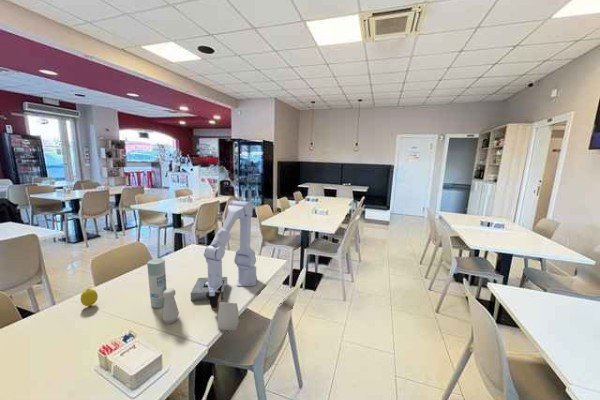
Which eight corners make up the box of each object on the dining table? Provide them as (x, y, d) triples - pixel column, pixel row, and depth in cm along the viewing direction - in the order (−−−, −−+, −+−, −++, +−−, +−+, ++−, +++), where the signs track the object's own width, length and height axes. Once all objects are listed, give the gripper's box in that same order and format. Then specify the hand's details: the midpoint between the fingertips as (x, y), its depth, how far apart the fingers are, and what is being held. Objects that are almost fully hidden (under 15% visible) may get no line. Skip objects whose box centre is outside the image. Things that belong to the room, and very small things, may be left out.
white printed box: (235, 330, 96) (235, 306, 94) (218, 329, 96) (217, 305, 94) (238, 324, 99) (238, 300, 98) (221, 323, 100) (221, 300, 98)
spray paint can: (160, 309, 107) (156, 265, 103) (147, 307, 108) (143, 263, 105) (170, 300, 113) (168, 259, 110) (158, 298, 114) (155, 257, 111)
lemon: (101, 304, 109) (99, 287, 108) (86, 311, 104) (83, 293, 103) (94, 301, 111) (92, 284, 110) (79, 307, 106) (76, 290, 105)
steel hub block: (227, 284, 129) (227, 276, 128) (223, 299, 115) (222, 291, 115) (198, 285, 127) (198, 277, 126) (191, 301, 113) (190, 292, 113)
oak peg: (221, 304, 112) (221, 290, 110) (220, 310, 108) (219, 295, 106) (212, 305, 111) (211, 290, 110) (210, 310, 107) (209, 295, 106)
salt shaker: (182, 317, 102) (180, 288, 100) (171, 326, 97) (169, 295, 94) (171, 314, 104) (169, 285, 102) (159, 322, 98) (157, 292, 96)
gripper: (208, 265, 113) (209, 293, 115) (200, 281, 99) (202, 313, 101) (225, 265, 114) (225, 292, 116) (219, 281, 100) (220, 312, 102)
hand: (215, 302), depth 109 cm, fingers open, 7 cm apart
